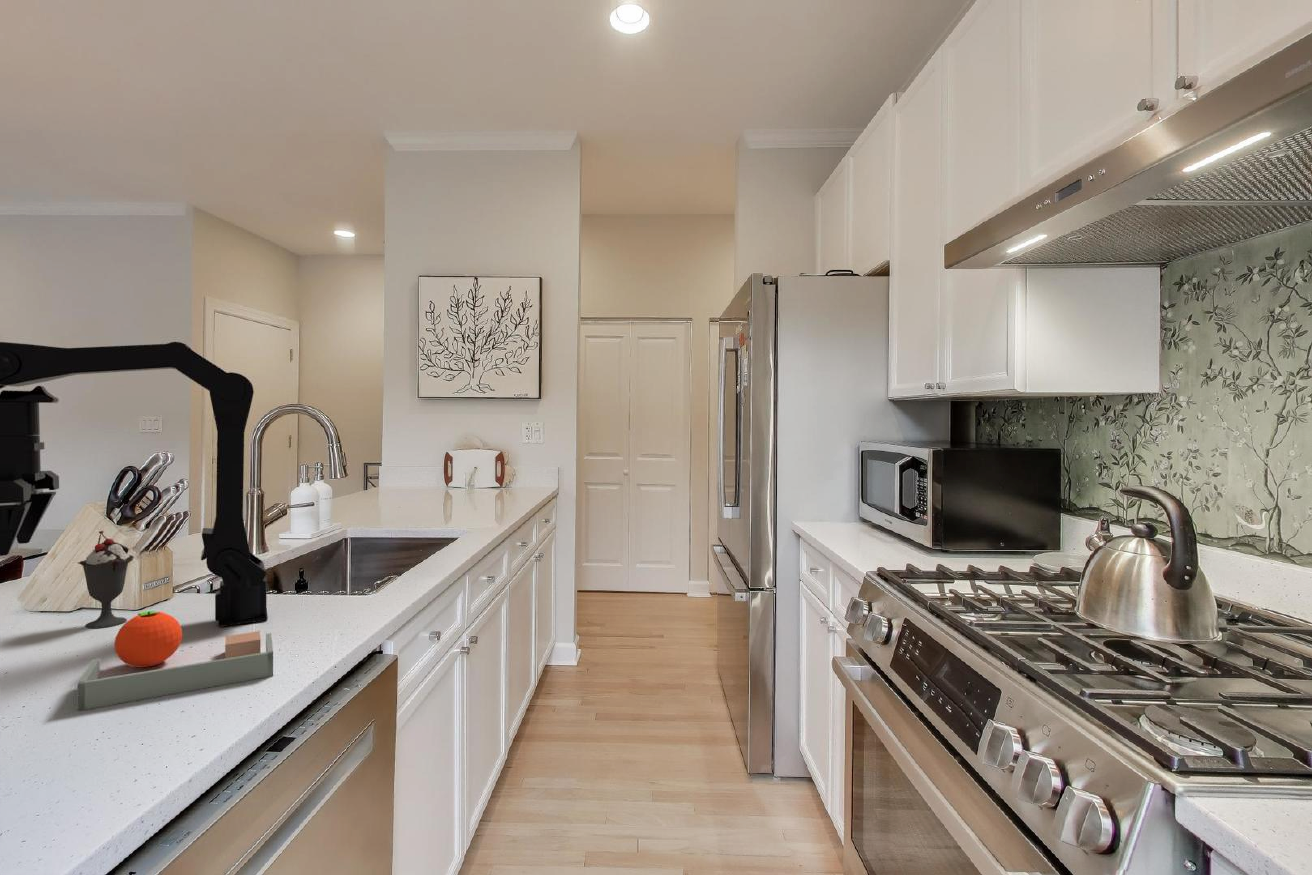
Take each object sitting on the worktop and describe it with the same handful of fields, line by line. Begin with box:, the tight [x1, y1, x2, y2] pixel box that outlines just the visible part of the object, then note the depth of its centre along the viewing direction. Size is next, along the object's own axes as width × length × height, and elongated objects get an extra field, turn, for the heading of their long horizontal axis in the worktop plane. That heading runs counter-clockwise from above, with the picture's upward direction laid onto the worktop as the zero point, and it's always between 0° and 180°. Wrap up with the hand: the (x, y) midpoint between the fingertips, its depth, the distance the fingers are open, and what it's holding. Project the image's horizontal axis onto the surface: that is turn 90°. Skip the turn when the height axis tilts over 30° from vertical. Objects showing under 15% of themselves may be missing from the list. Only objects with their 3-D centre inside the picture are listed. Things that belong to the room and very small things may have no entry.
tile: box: [224, 630, 262, 659], centre depth 86 cm, size 4×4×2 cm
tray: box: [77, 632, 274, 712], centre depth 78 cm, size 18×8×3 cm, turn 123°
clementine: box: [114, 610, 183, 668], centre depth 82 cm, size 8×7×7 cm
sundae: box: [77, 530, 134, 629], centre depth 97 cm, size 7×7×15 cm
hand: (13, 549), depth 85 cm, fingers open, 9 cm apart
